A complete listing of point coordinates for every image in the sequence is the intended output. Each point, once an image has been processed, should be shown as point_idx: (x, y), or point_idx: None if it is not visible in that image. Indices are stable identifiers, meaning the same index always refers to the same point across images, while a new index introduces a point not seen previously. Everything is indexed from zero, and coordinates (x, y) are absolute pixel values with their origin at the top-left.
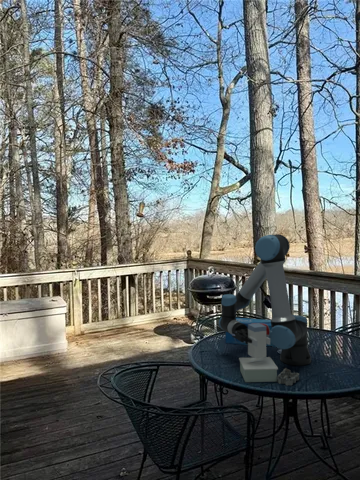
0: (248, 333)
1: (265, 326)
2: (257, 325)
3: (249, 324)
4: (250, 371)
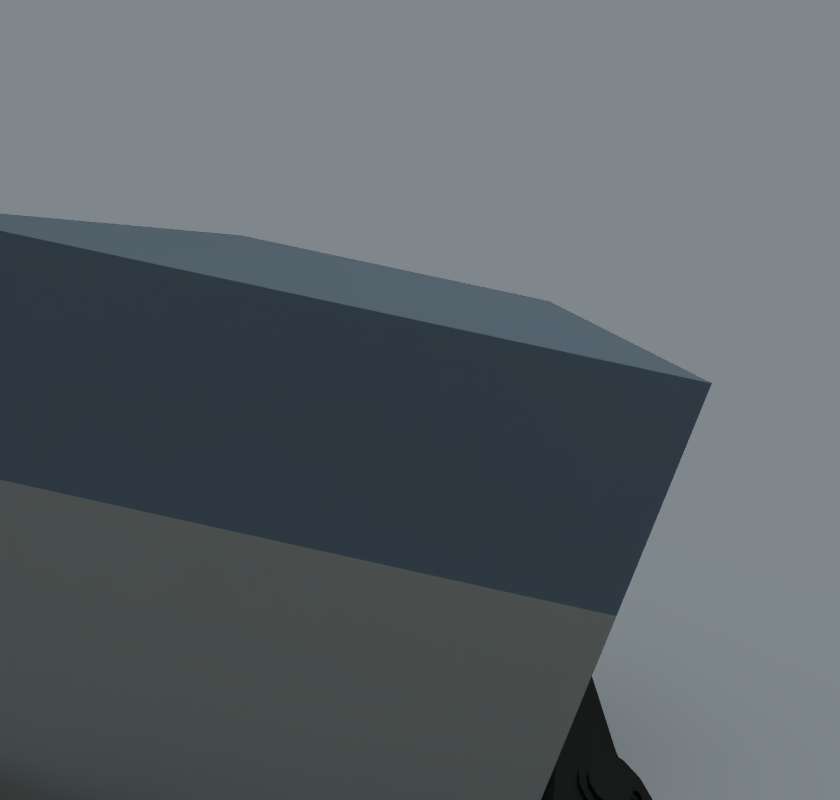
0: (534, 745)
1: (265, 241)
2: (359, 272)
3: (605, 356)
4: None
